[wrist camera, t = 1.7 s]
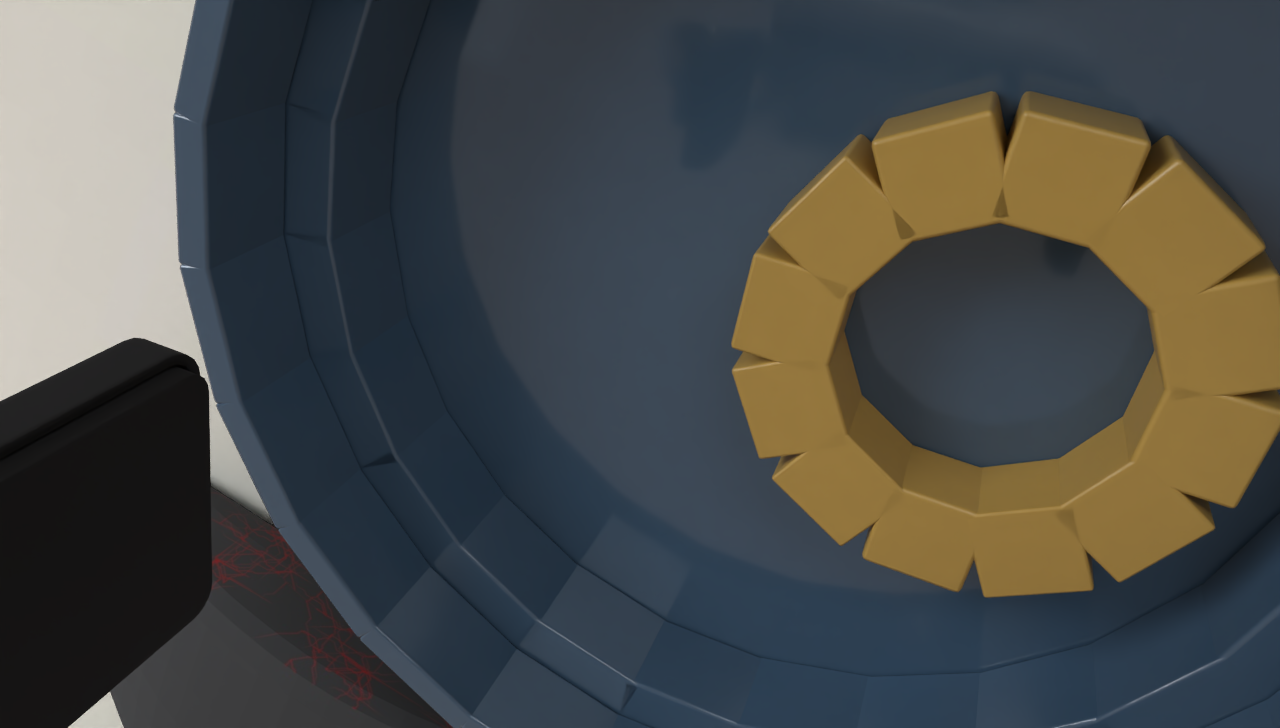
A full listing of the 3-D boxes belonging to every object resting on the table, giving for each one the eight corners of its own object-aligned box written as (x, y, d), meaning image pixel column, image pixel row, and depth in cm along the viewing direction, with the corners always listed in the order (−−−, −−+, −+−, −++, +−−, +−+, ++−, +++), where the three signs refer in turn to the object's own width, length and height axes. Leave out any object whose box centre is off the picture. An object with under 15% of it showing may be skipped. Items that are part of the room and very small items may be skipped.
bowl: (366, -495, 15) (141, -620, 11) (1898, -266, 11) (2345, -341, 7) (325, 522, 24) (191, 642, 21) (1161, 854, 20) (1190, 1081, 16)
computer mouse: (512, 892, 28) (438, 1034, 24) (104, 625, 29) (-21, 724, 26) (628, 716, 24) (558, 857, 20) (146, 414, 25) (5, 499, 22)
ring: (823, 37, 16) (803, 53, 14) (1373, 176, 14) (1409, 207, 13) (715, 456, 19) (690, 499, 18) (1140, 604, 18) (1149, 664, 16)
